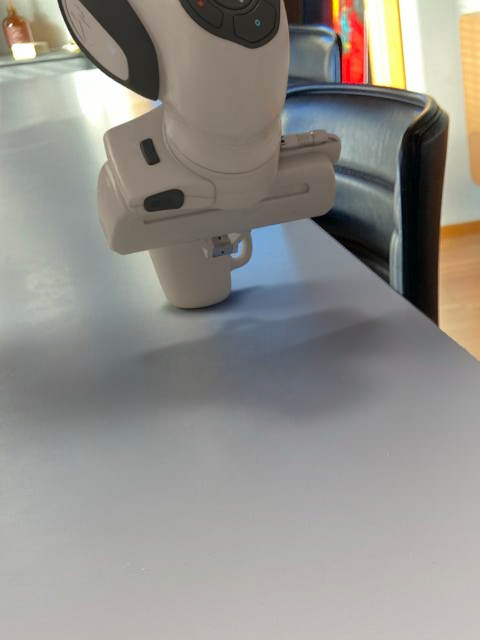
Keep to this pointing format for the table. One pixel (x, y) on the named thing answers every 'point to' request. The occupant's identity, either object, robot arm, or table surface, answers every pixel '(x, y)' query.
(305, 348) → the table surface
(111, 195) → the robot arm
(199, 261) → the cup
